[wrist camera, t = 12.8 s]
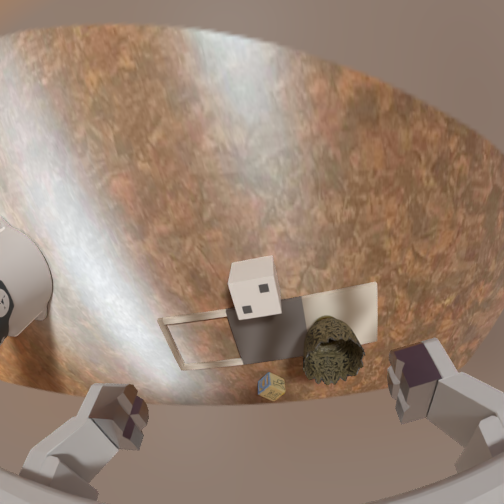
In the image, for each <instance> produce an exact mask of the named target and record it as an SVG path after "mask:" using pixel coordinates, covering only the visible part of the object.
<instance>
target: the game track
mask: <svg viewBox="0 0 504 504" xmlns="http://www.w3.org/2000/svg"><path fill="white" fill-rule="evenodd" d="M281 309H282V313H281V314H275V315H269V316H262V317H256V318H250V319H243V320H239V319H238V316H237V312H236V309H235V308H229V309H222V310H216V311H209V312H202V313H195V314H188V315H180V316H173V317H165V318H158V320H157V321H158V324H159V326H160V328H161V330H162V332H163V334H164V336H165V338H166V341H167V343H168V345H169V347H170V349H171V351H172V353H173V355H174V357H175V359H176V361H177V363H178V365H179V367H180V369H181V370H194V369H206V368H216V367H226V366H235V365H243V364H251V363H259V362H266V361H273V360H280V359H287V358H293V357H299V356H303V351H304V340H305V336H306V334H307V332H308V330H309V329H310V328H311V327H312V326H313V324H314V322H315V321H316V319H318V318H319V317H321V316H325V315H329V316H333V317H334V318H336V319H339V320H341V321H343V322H345V323H346V324H347V325H348V326H349V327H350V328H351V329H352V330H353V332H354V334H355V335H356V337H357V339H358V341H359V342H360V344H366V343H370V342H375V341H377V283H376V282H372V283H367V284H362V285H357V286H352V287H347V288H342V289H337V290H332V291H327V292H322V293H317V294H311V295H306V296H300V297H295V298H289V299H284V300H281ZM226 316H227V317H228V320H229V323H230V326H231V329H232V332H233V335H234V338H235V341H236V344H237V347H238V350H239V353H240V356H241V358H239V359H230V360H221V361H212V362H202V363H191V364H185V363H184V361H183V359H182V357H181V355H180V353H179V350H178V348H177V346H176V344H175V342H174V340H173V338H172V336H171V333H170V331H169V329H168V327H167V325H166V324H175V323H183V322H190V321H198V320H205V319H212V318H219V317H226Z"/></svg>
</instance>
